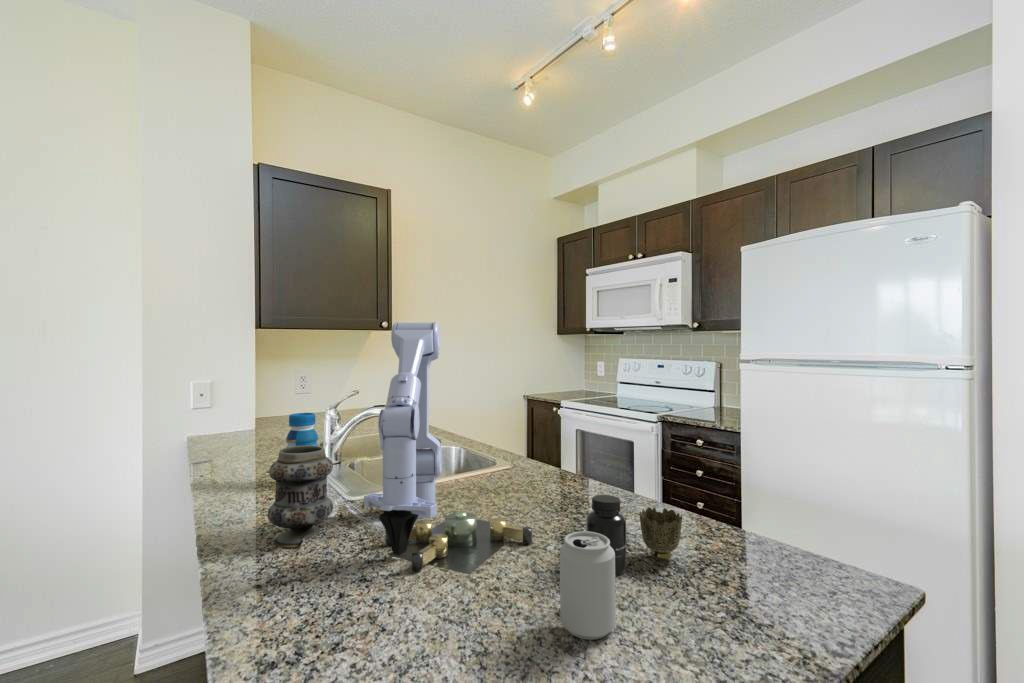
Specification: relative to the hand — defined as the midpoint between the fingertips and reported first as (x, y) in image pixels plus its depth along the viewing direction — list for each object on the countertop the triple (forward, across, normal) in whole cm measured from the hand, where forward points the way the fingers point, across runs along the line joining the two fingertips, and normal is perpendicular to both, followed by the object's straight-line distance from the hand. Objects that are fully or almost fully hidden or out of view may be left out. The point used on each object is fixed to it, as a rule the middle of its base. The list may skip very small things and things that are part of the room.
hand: (399, 552), depth 83 cm
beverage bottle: (+3, -56, +28) cm, 63 cm away
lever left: (+1, -3, +7) cm, 7 cm away
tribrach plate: (+2, +5, +12) cm, 13 cm away
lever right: (+1, +14, +15) cm, 21 cm away
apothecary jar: (+3, -26, +2) cm, 26 cm away
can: (+3, +35, -4) cm, 35 cm away
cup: (+3, +41, +22) cm, 47 cm away
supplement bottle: (+3, +33, +14) cm, 36 cm away
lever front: (+1, +5, +1) cm, 6 cm away
